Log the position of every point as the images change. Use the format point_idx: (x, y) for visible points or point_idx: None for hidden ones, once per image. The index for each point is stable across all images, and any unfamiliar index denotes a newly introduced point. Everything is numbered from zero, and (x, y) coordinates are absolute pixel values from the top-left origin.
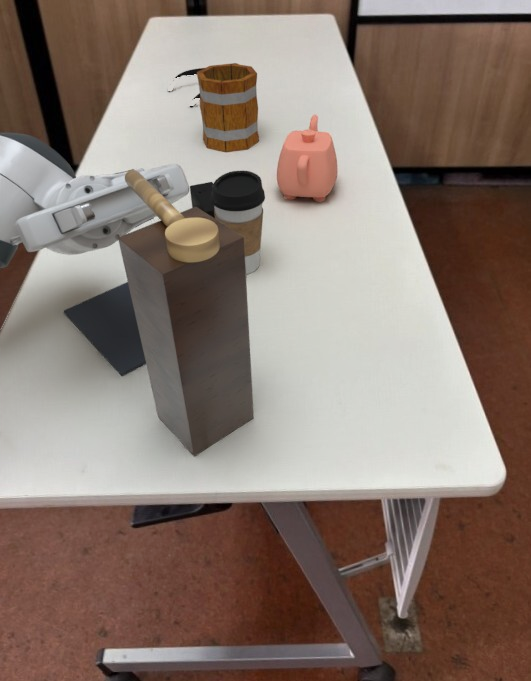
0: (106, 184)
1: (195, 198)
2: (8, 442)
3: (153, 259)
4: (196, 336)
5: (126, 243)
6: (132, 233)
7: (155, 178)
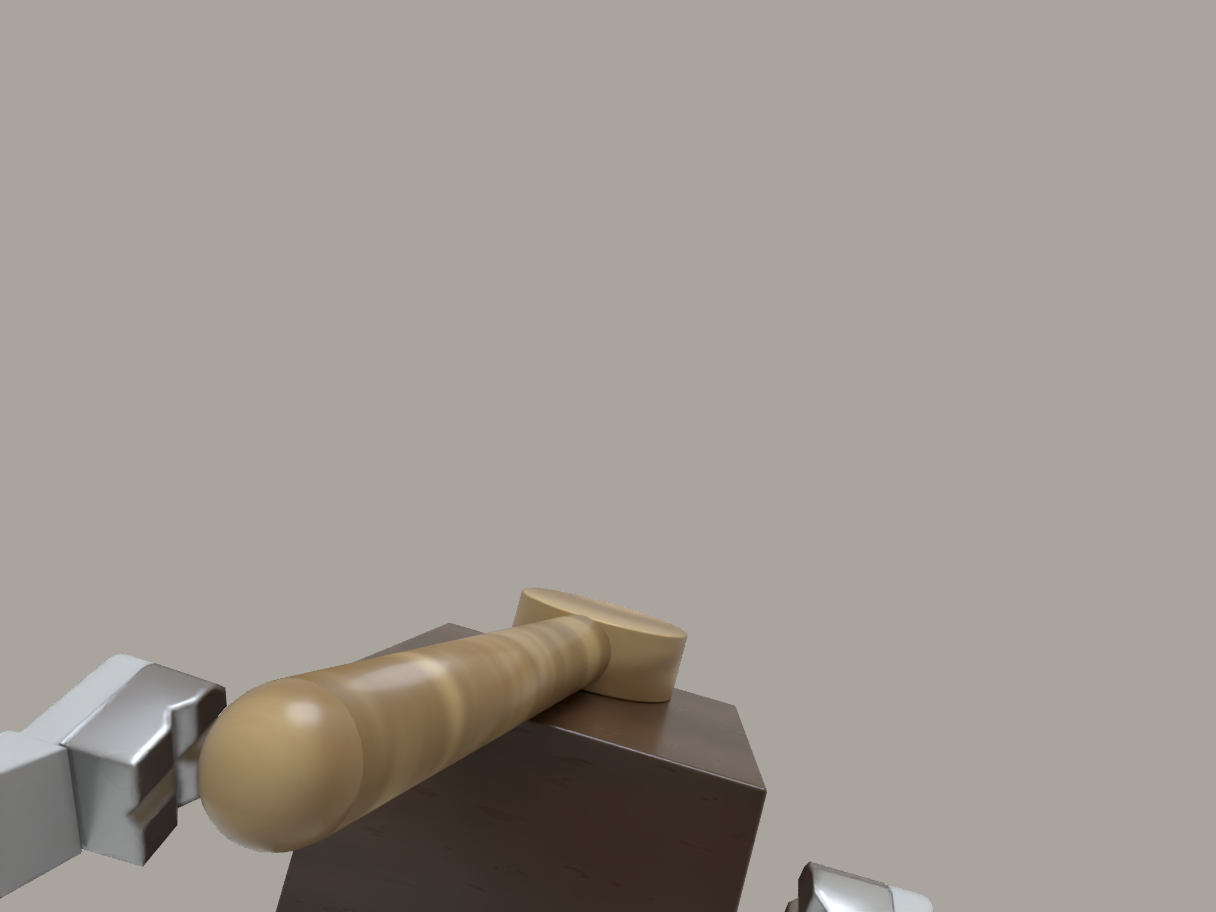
0: None
1: None
2: None
3: (721, 718)
4: None
5: (755, 766)
6: (697, 764)
7: (202, 697)
